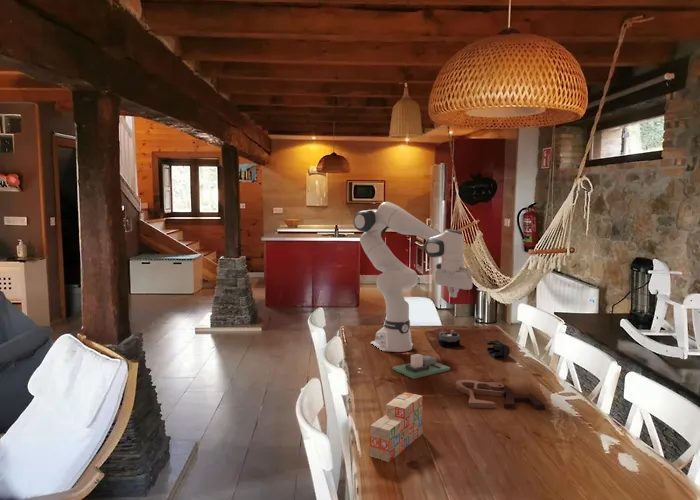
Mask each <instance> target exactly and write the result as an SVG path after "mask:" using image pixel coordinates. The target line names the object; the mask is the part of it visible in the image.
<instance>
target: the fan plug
mask: <svg viewBox="0 0 700 500" xmlns="http://www.w3.org/2000/svg"><path fill="white" fill-rule="evenodd" d="M423 356H424V355H423V354H421V353H420V354H419V353H415V354H410V363H411V367H413V368H418V367H423Z"/></svg>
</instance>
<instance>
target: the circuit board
mask: <svg viewBox="0 0 700 500" xmlns="http://www.w3.org/2000/svg"><path fill="white" fill-rule="evenodd" d="M392 369H393V371H394V370H395V371H394V372H397V373H400V374H401V373H402V374H401V375H403V374H404V376H406V377H408V378H411V379H413V380H414V379H419V378H422V377H423V378H424V377H427V376H431V375H436V374H440V373H444V372H448V371H451V367H450V366H448V365H445V364H442V363H439V362H437V357H434V356H431V355H429V354H424V355H423V367H418V368H413V367H411V362H409V363H405V364H399V365H395V366H392Z"/></svg>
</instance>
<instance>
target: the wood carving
mask: <svg viewBox="0 0 700 500" xmlns="http://www.w3.org/2000/svg"><path fill="white" fill-rule="evenodd" d="M468 387H471V388H472V387H473V389H470V388H468ZM455 388H456V389H457V390H458V391H459V392H462V393H464V394H466V395H468V396H469V399H468V408H477V409H478V408H479V409H480V408H482V409H496V403H495V402H494V401H490V400H489V401H488V400H483V399H476V397H475V394H476V395H484V396H492V397H493V396H494V397H505V402H504V404H503V409H511V410H512V409H515V403H529V404H530V405H531V406H532V407H533V408H534V410H538V411H539V410H542V411H543V410H546V405H545V403H544V402H543V401H542V400H540V399H539V398H537V397H536V396H535V395H533V394H532V393H530V392H529V393H527V394H526V393H523V394H522V393H516V392H513V391H512V389H511V388H510V387H508V386H507V385H506V384H503V383H502V382H499V381H491V382H490V381H489V382H487V381H486V382H485V381H479V380H473V379H458V380H456V381H455ZM483 388H484V389H483Z"/></svg>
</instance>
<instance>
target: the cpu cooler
mask: <svg viewBox="0 0 700 500" xmlns="http://www.w3.org/2000/svg"><path fill="white" fill-rule="evenodd" d="M460 336H461V335H460V333H458V332H455V331H454V332H453V331H441V332H439V334H438V344H439V345H440V347H443V348H458V347H460V346H461V344H460V343H461V337H460Z"/></svg>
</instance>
